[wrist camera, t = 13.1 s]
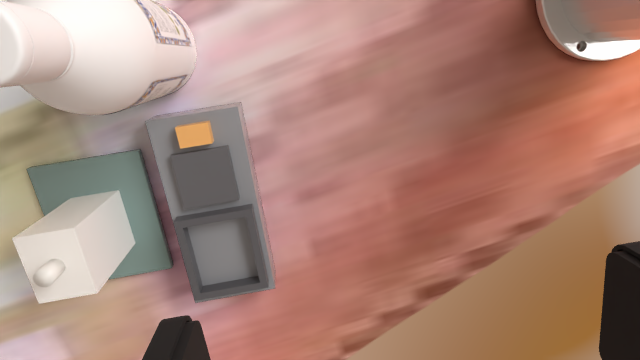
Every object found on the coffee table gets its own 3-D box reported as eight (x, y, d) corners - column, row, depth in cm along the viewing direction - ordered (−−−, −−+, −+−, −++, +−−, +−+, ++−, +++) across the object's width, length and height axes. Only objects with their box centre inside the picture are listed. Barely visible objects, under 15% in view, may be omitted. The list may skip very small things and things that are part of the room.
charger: (118, 190, 35) (61, 238, 26) (135, 243, 36) (87, 306, 27) (70, 198, 35) (-5, 249, 25) (89, 251, 36) (25, 317, 27)
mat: (140, 149, 35) (137, 150, 34) (173, 264, 38) (171, 268, 37) (30, 167, 34) (26, 168, 34) (73, 282, 37) (70, 286, 37)
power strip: (241, 102, 34) (236, 108, 30) (275, 271, 39) (275, 296, 35) (156, 115, 34) (139, 123, 30) (201, 284, 39) (192, 311, 35)
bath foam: (111, -8, 31) (-156, -110, 12) (204, 15, 32) (96, -43, 13) (102, 84, 33) (-143, 123, 14) (191, 103, 34) (78, 165, 15)
